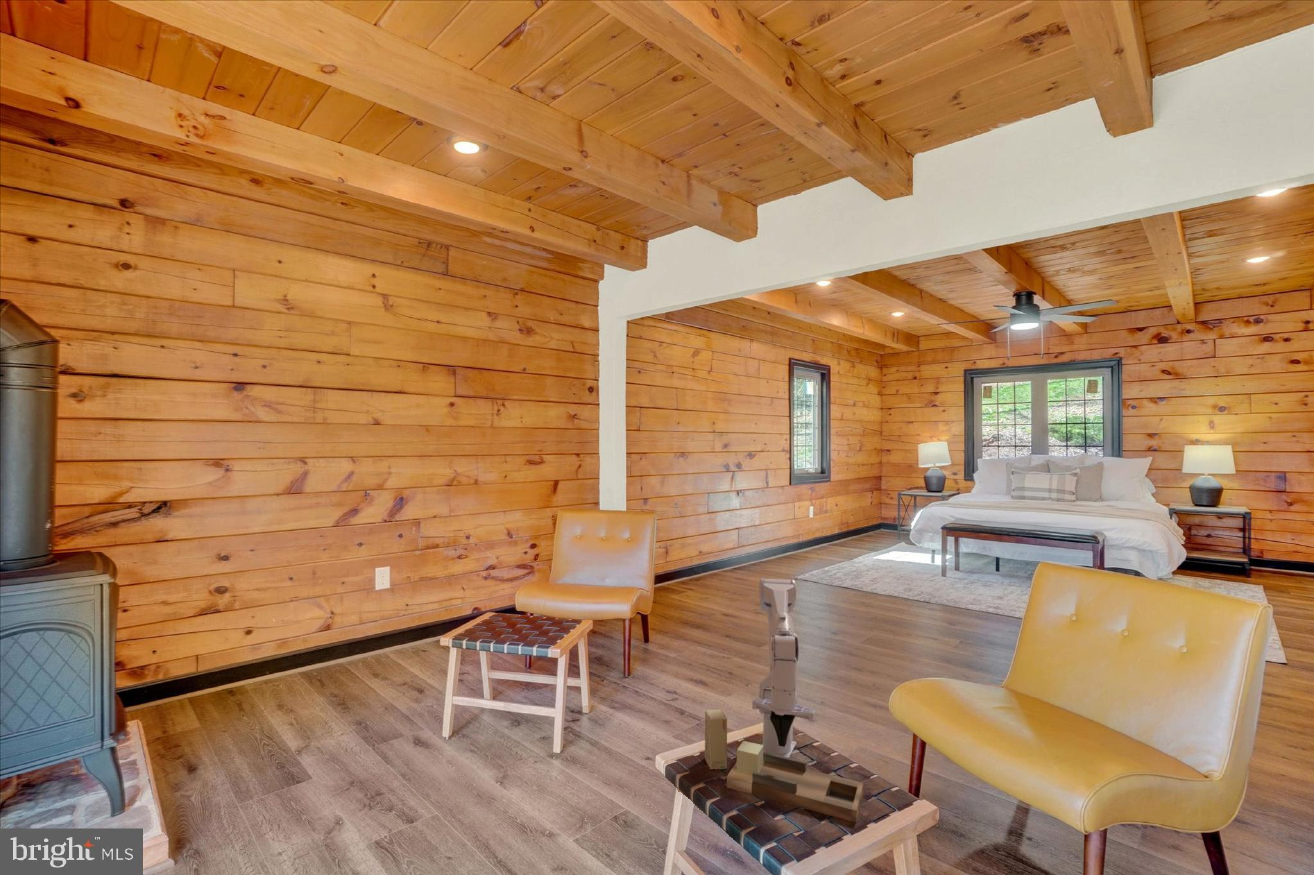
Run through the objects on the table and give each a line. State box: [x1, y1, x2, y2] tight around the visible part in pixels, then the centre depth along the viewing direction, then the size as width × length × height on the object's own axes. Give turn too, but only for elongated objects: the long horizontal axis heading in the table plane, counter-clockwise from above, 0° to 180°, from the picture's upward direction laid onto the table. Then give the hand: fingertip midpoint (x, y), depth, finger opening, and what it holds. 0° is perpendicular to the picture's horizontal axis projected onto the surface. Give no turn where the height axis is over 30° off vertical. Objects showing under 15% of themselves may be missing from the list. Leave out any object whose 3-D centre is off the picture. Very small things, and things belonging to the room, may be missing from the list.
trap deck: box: [726, 752, 865, 823], centre depth 141 cm, size 12×29×4 cm, turn 65°
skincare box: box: [704, 709, 728, 770], centre depth 153 cm, size 6×4×12 cm
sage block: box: [736, 740, 764, 775], centre depth 146 cm, size 5×5×5 cm
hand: (782, 744), depth 144 cm, fingers closed
